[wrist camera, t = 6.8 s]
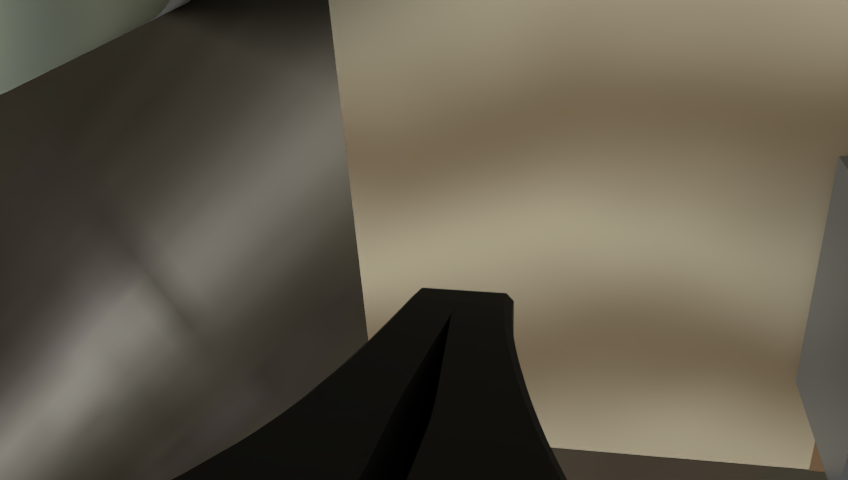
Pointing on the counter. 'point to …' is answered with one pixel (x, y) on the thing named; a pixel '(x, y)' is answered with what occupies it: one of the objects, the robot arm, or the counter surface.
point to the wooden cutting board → (609, 199)
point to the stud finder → (829, 338)
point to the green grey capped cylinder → (64, 31)
